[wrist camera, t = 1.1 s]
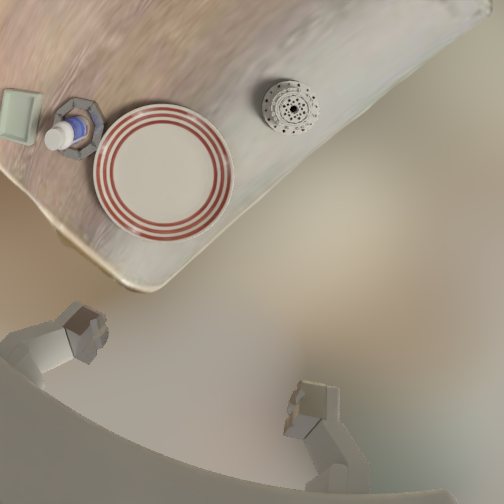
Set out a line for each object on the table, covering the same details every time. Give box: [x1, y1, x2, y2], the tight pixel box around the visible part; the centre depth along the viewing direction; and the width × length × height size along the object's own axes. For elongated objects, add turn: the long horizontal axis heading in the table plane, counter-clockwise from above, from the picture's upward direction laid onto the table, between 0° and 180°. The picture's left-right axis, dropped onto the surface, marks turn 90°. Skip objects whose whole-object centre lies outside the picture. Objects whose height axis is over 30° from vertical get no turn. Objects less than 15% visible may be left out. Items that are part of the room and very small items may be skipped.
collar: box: [53, 97, 107, 161], centre depth 45 cm, size 12×12×1 cm
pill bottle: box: [45, 116, 89, 150], centre depth 42 cm, size 5×5×10 cm
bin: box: [0, 88, 44, 146], centre depth 41 cm, size 11×11×2 cm
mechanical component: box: [262, 81, 319, 135], centre depth 45 cm, size 10×4×10 cm
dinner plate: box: [93, 104, 234, 244], centre depth 51 cm, size 28×27×3 cm
